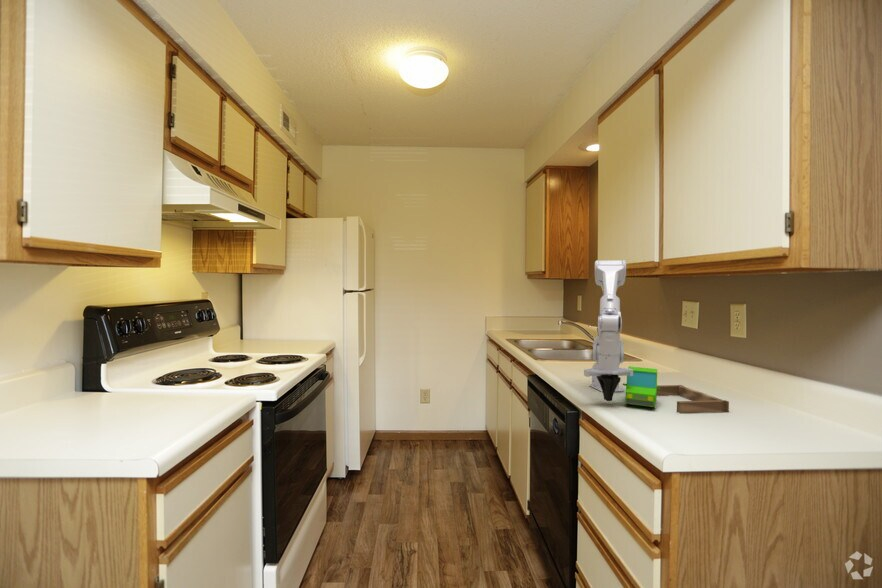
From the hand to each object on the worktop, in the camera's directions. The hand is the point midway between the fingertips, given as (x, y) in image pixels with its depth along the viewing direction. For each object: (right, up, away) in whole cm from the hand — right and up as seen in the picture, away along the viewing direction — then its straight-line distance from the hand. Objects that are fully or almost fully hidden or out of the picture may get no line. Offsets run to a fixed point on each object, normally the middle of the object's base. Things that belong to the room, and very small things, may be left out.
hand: (607, 400), depth 129 cm
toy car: (+11, -2, +1) cm, 11 cm away
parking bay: (+23, -2, +3) cm, 24 cm away
